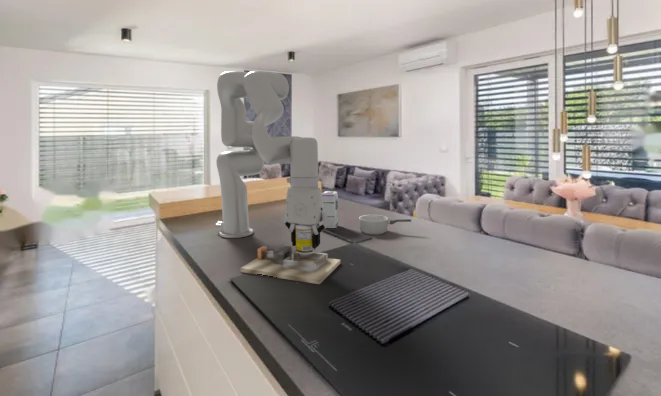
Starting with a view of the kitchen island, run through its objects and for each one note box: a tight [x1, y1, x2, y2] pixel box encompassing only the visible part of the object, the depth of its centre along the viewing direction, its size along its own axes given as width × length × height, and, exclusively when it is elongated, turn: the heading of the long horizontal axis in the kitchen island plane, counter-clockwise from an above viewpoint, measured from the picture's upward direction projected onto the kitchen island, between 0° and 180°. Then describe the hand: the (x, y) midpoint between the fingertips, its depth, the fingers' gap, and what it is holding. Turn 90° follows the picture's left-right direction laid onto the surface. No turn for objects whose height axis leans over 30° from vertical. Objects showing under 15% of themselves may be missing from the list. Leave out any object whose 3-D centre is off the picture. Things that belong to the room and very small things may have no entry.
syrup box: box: [321, 190, 339, 229], centre depth 149 cm, size 6×6×14 cm
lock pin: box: [257, 245, 286, 260], centre depth 109 cm, size 8×3×3 cm, turn 69°
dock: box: [240, 244, 341, 285], centre depth 106 cm, size 24×16×5 cm, turn 69°
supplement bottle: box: [295, 224, 317, 255], centre depth 104 cm, size 6×6×10 cm
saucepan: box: [358, 214, 412, 235], centre depth 142 cm, size 12×20×6 cm, turn 78°
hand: (305, 245), depth 104 cm, fingers closed on supplement bottle, 5 cm apart
